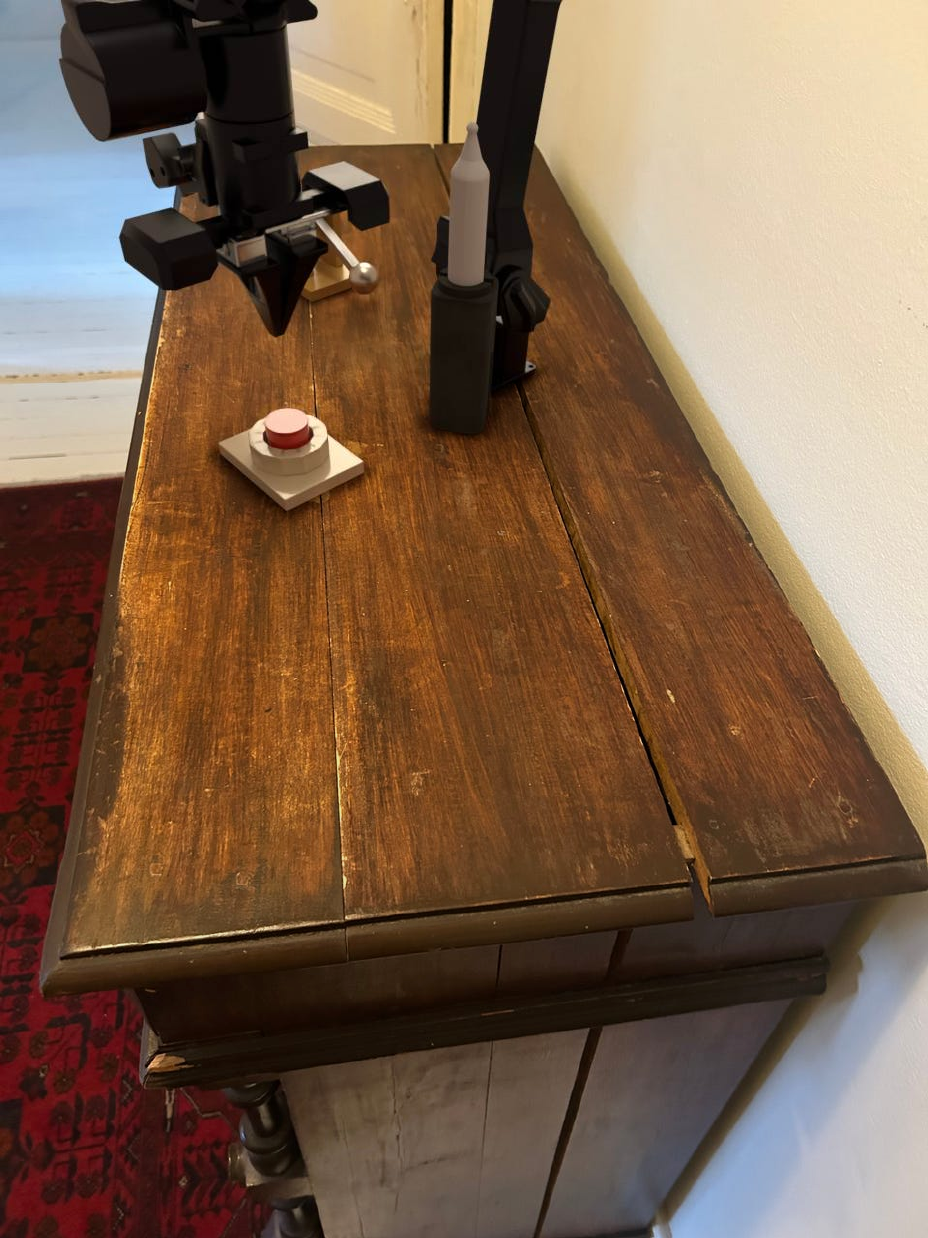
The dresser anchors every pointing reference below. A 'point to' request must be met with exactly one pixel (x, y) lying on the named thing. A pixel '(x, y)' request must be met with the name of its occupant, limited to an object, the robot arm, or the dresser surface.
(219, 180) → the robot arm
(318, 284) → the tap bracket
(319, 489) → the button block
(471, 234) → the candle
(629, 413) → the dresser surface
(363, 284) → the tap lever
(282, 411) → the button
